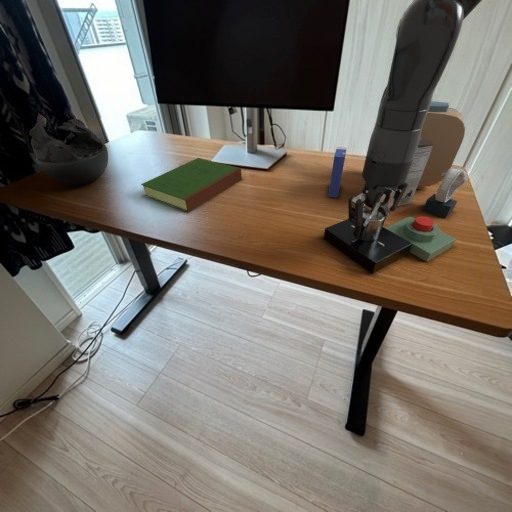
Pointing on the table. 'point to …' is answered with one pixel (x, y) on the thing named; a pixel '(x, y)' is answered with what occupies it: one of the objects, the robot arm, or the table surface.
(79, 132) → the gray filled bowl
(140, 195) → the table surface
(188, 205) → the hardcover book
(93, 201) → the table surface
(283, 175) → the table surface
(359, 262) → the dial panel
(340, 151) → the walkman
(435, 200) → the watch
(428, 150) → the coffee box
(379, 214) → the knob
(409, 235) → the button base
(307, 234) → the table surface
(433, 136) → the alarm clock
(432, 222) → the button
